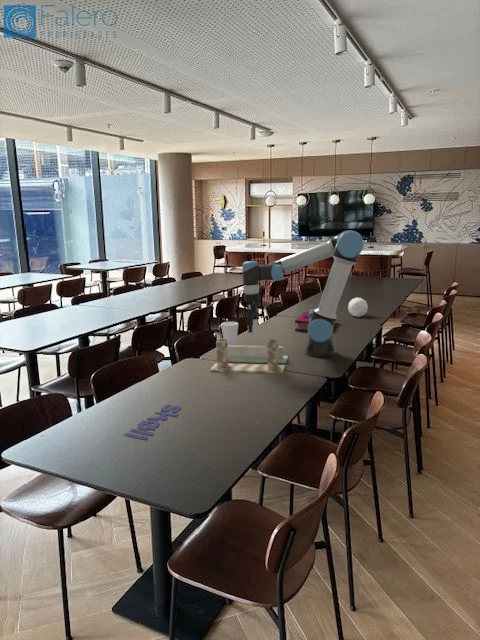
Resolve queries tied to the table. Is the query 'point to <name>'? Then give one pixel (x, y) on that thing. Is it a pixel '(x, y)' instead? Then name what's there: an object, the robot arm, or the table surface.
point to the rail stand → (247, 368)
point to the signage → (156, 423)
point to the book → (303, 322)
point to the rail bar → (251, 352)
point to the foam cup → (230, 332)
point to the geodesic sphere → (357, 307)
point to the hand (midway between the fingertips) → (253, 335)
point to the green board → (257, 360)
